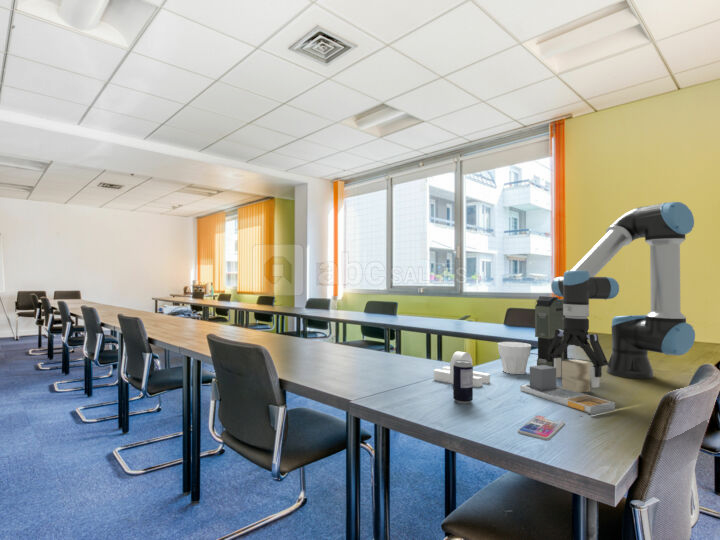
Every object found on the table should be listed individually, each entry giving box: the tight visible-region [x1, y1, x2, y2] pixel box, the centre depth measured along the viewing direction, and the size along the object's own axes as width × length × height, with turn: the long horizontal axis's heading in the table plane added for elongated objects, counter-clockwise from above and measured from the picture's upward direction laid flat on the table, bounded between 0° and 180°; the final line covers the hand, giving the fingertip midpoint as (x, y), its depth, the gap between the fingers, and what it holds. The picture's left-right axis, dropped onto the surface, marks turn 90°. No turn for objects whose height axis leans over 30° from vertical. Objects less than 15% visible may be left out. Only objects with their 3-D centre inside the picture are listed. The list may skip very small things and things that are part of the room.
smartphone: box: [517, 415, 566, 441], centre depth 101 cm, size 7×1×15 cm
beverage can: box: [452, 360, 474, 405], centre depth 122 cm, size 6×6×12 cm
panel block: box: [561, 358, 591, 393], centre depth 133 cm, size 7×5×10 cm
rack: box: [519, 383, 616, 416], centre depth 123 cm, size 11×24×2 cm, turn 26°
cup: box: [497, 341, 532, 375], centre depth 161 cm, size 12×12×11 cm
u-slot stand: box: [433, 350, 491, 388], centre depth 145 cm, size 10×18×11 cm, turn 47°
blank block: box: [529, 365, 557, 391], centre depth 131 cm, size 7×5×8 cm
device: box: [534, 295, 570, 374], centre depth 163 cm, size 14×8×30 cm, turn 124°
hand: (575, 382), depth 133 cm, fingers open, 13 cm apart
